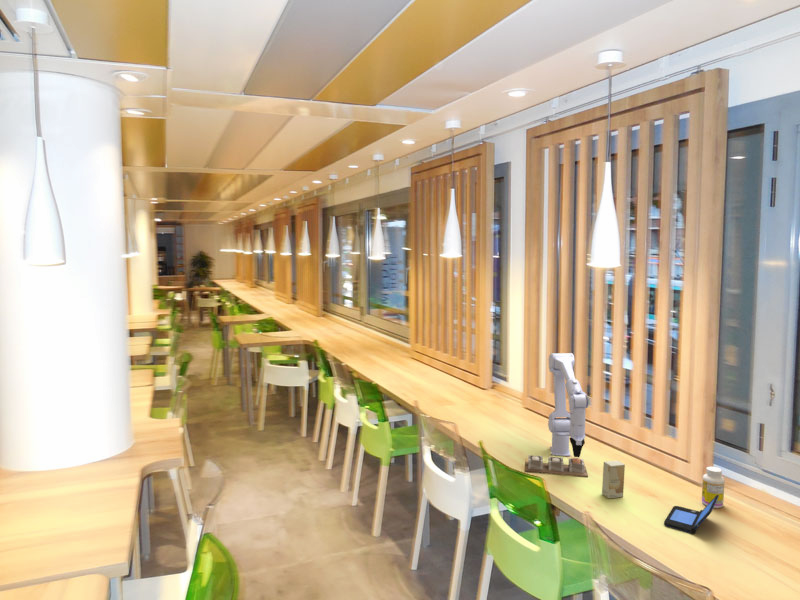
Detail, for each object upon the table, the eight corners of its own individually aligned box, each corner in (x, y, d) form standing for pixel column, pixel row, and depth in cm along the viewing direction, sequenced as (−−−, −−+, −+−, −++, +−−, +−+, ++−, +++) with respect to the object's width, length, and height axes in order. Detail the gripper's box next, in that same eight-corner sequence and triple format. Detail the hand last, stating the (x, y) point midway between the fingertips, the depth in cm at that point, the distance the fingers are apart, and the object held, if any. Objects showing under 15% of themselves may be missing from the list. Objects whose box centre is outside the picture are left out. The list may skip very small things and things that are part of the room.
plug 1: (531, 464, 230) (531, 456, 229) (539, 464, 229) (539, 456, 229) (531, 466, 227) (531, 458, 226) (539, 467, 226) (539, 459, 226)
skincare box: (608, 499, 200) (610, 466, 199) (601, 494, 204) (602, 461, 203) (624, 497, 201) (625, 464, 200) (616, 491, 206) (617, 459, 204)
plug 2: (551, 465, 228) (551, 457, 228) (559, 466, 227) (559, 458, 227) (552, 468, 225) (552, 460, 225) (559, 469, 224) (559, 460, 224)
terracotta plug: (572, 465, 226) (572, 457, 226) (579, 466, 225) (580, 458, 225) (572, 468, 223) (572, 460, 223) (580, 469, 222) (580, 460, 222)
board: (525, 462, 234) (525, 452, 233) (585, 467, 228) (585, 457, 228) (525, 472, 224) (525, 461, 223) (588, 477, 219) (588, 466, 218)
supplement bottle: (703, 498, 200) (705, 463, 199) (724, 503, 196) (726, 468, 195) (699, 505, 195) (701, 469, 194) (721, 510, 191) (723, 474, 190)
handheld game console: (674, 508, 193) (675, 483, 192) (718, 520, 184) (719, 493, 184) (662, 526, 180) (664, 499, 180) (709, 540, 172) (711, 511, 171)
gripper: (565, 417, 231) (564, 449, 232) (568, 428, 216) (567, 462, 218) (583, 418, 229) (582, 450, 230) (587, 430, 215) (586, 464, 216)
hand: (576, 456), depth 224 cm, fingers closed
